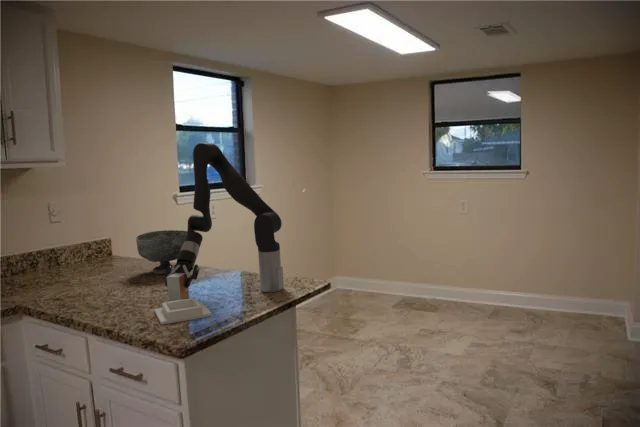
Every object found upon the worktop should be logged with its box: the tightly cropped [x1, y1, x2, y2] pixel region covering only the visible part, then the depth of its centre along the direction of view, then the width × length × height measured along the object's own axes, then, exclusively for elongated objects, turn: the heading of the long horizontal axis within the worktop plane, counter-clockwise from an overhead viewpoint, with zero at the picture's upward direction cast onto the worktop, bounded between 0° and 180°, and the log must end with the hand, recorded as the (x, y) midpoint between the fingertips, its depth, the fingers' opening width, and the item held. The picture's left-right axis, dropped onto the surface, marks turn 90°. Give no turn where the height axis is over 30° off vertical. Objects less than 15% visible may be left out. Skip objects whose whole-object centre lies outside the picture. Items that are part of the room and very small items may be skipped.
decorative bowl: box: [135, 230, 187, 275], centre depth 274 cm, size 27×26×20 cm
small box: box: [166, 272, 190, 302], centre depth 219 cm, size 8×6×10 cm
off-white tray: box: [153, 297, 212, 326], centre depth 199 cm, size 18×18×4 cm
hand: (176, 287), depth 218 cm, fingers open, 8 cm apart
